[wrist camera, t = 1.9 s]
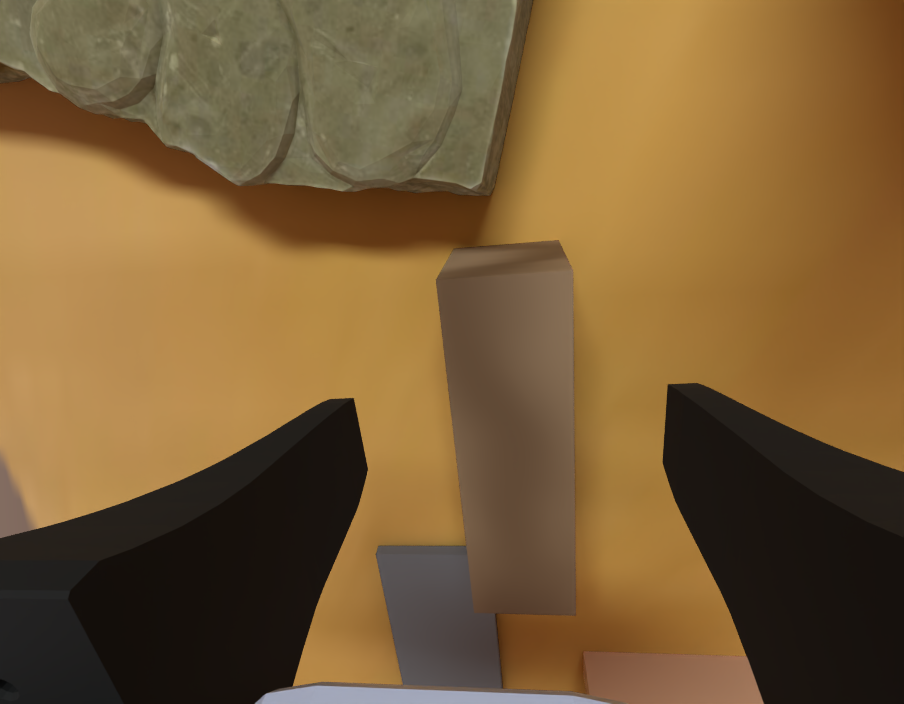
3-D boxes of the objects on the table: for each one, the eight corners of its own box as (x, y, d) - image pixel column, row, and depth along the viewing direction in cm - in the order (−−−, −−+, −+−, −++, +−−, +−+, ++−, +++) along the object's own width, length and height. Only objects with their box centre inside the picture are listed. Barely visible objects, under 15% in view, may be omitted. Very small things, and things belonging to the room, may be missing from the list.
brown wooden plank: (557, 239, 17) (573, 270, 12) (563, 523, 21) (575, 615, 17) (454, 247, 17) (435, 279, 13) (481, 523, 22) (473, 613, 17)
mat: (489, 546, 22) (488, 554, 21) (507, 733, 26) (507, 744, 26) (378, 545, 22) (375, 554, 22) (416, 729, 27) (414, 739, 27)
